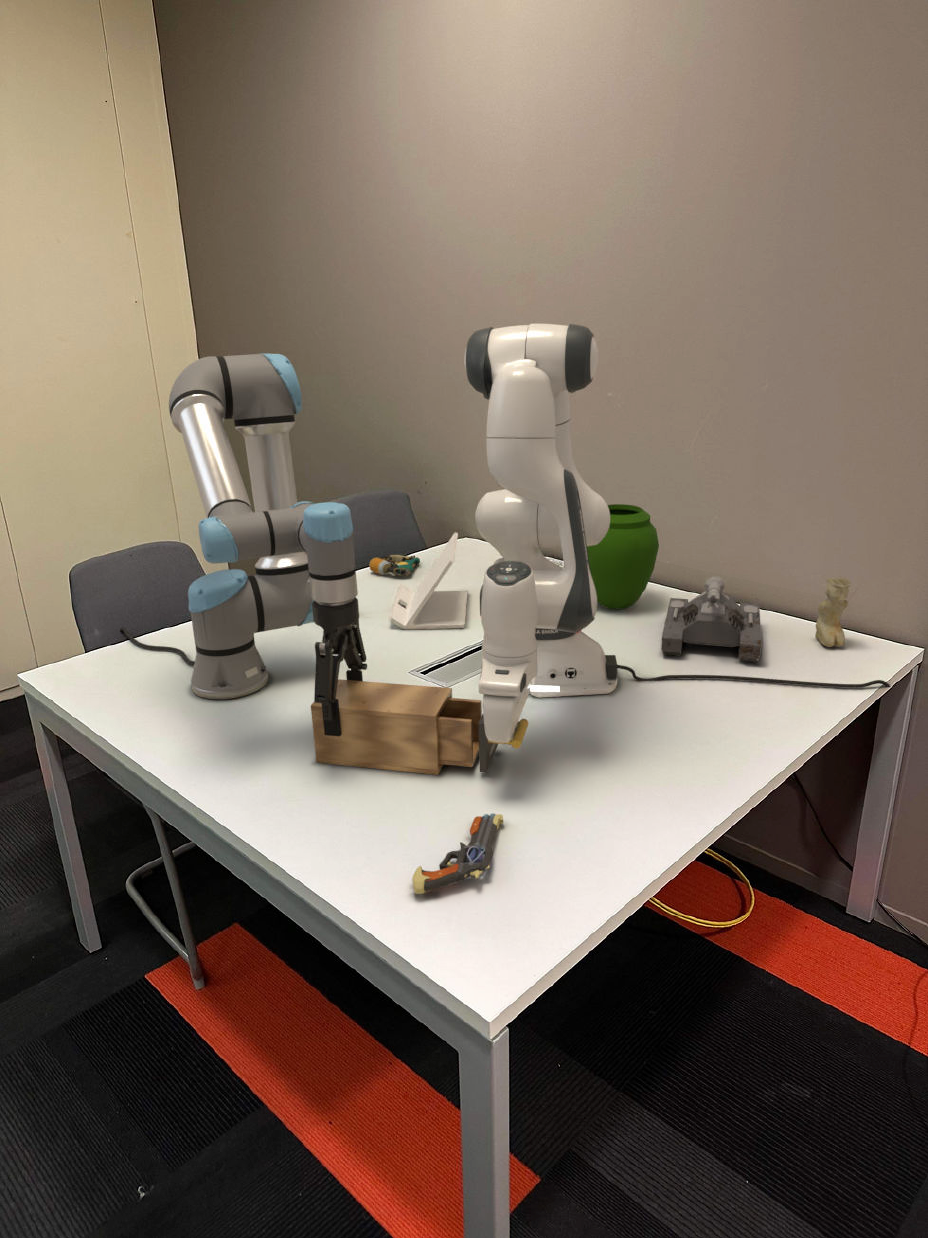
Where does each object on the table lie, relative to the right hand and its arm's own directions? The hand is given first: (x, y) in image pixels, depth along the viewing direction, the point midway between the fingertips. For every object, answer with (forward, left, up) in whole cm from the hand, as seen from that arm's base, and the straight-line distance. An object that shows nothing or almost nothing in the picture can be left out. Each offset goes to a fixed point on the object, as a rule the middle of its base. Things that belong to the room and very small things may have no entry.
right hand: (510, 740), depth 141 cm
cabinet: (+22, -2, -5) cm, 22 cm away
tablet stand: (+25, -73, -5) cm, 78 cm away
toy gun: (+5, +26, -5) cm, 27 cm away
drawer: (+11, -1, -4) cm, 11 cm away
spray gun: (+40, -107, -5) cm, 115 cm away
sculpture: (-66, -57, -5) cm, 87 cm away
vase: (-21, -80, -5) cm, 83 cm away
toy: (-41, -57, -5) cm, 70 cm away
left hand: (+29, -3, +1) cm, 29 cm away
